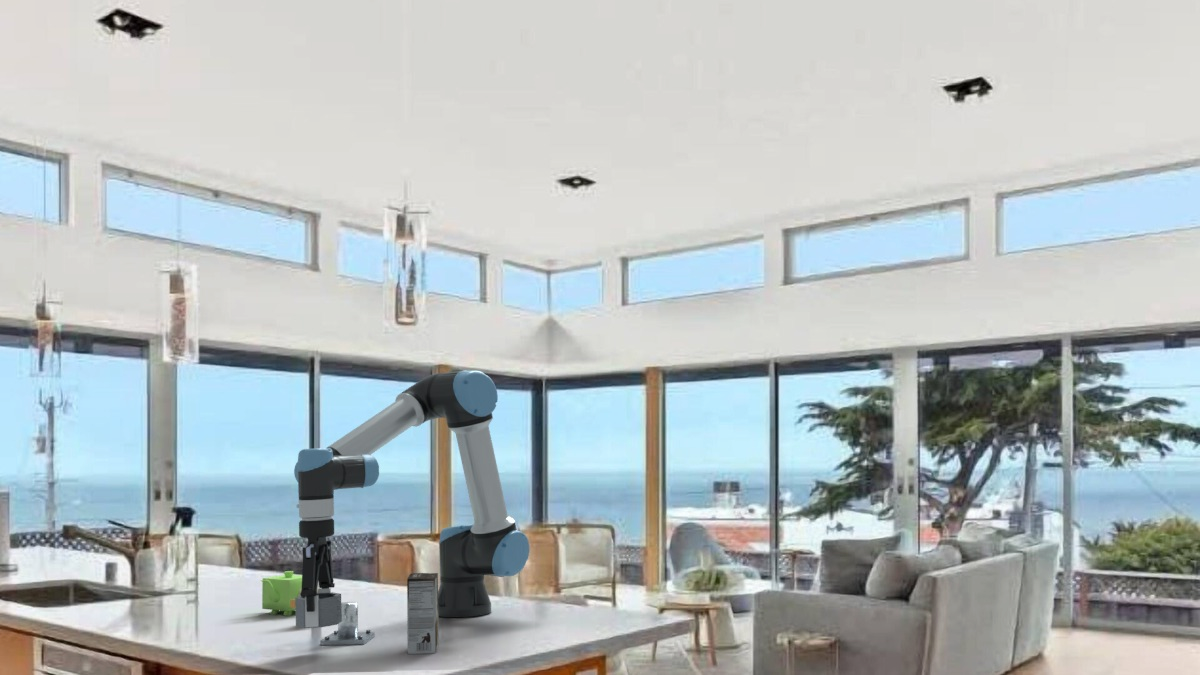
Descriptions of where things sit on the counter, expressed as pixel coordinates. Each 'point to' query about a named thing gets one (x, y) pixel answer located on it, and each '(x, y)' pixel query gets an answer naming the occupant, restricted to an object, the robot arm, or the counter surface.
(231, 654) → the counter surface
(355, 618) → the bolted post base
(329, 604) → the collar
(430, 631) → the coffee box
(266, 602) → the kettle
